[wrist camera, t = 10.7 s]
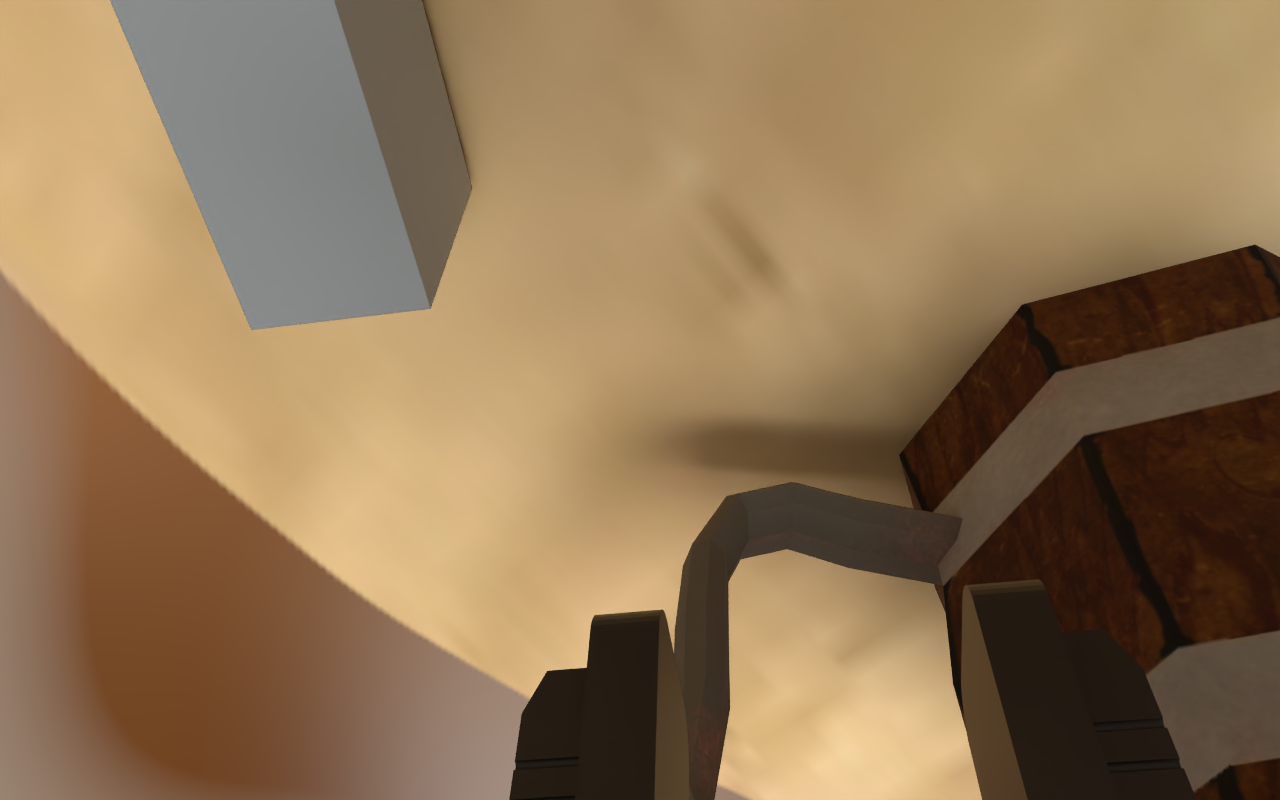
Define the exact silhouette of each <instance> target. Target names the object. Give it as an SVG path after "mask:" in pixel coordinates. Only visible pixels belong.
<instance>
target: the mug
mask: <svg viewBox="0 0 1280 800" xmlns="http://www.w3.org/2000/svg"><path fill="white" fill-rule="evenodd" d="M899 456H900V459H901V463H902V467H903V470H904V474H905V478H906V481H907V485H908V489H909V492H910V496H911V500H912V503H913V507H914V509H912V508H907V507H901V506H896V505H890V504H885V503H879V502H874V501H868V500H863V499H859V498H855V497H850V496H846V495H842V494H837V493H833V492H829V491H825V490H821V489H818V488H814V487H810V486H806V485H802V484H798V483H786V484H782V485H777V486H772V487H767V488H763V489H758V490H753V491H748V492H744V493H739V494H734V495H729V496H726V498H725V499H724V501H723V502H722V503H721V505H720V506H719V508H718V509H717V510H716V512H715V513H714V515H713V516H712V517H711V519H710V520H709V521H708V523H707V524H706V526H705V527H704V528H703V530H702V531H701V533H700V534H699V535H698V537H697V538H696V540H695V541H694V542H693V544H692V546H691V548H690V551H689V553H688V555H687V558H686V560H685V562H684V565H683V571H682V578H681V586H680V594H679V602H678V610H677V617H676V625H675V644H674V657H675V662H676V667H677V672H678V677H679V681H680V686H681V691H682V696H683V701H684V707H685V714H686V723H687V734H688V751H689V800H714V799H715V792H716V787H717V781H718V775H719V769H720V763H721V758H722V752H723V746H724V740H725V734H726V728H727V723H728V717H729V711H730V682H729V618H728V582H729V580H730V578H731V576H732V574H733V572H734V571H735V569H736V567H737V565H738V563H739V561H740V560H741V559H744V558H749V557H753V556H758V555H762V554H767V553H771V552H776V551H780V550H785V549H789V550H793V551H796V552H799V553H802V554H806V555H809V556H812V557H815V558H819V559H822V560H825V561H828V562H832V563H835V564H838V565H841V566H845V567H848V568H852V569H858V570H863V571H869V572H874V573H879V574H885V575H890V576H895V577H901V578H906V579H911V580H917V581H922V582H928V583H933V584H935V588H936V590H937V593H938V595H939V598H940V600H941V602H942V605H943V607H944V610H945V612H946V620H947V629H948V639H949V648H950V658H951V667H952V677H953V685H954V688H955V692H956V696H957V699H958V703H959V706H960V710H961V713H962V717H963V721H964V724H965V718H964V711H963V702H962V690H961V657H962V599H963V589H964V586H965V585H976V584H988V583H1000V582H1012V581H1024V580H1036V579H1039V580H1040V581H1041V582H1042V583H1043V584H1044V586H1045V588H1046V591H1047V593H1048V596H1049V599H1050V602H1051V605H1052V607H1053V610H1054V613H1055V616H1056V619H1057V622H1058V625H1059V628H1060V630H1061V632H1069V631H1082V630H1095V629H1105V631H1106V632H1107V633H1108V634H1109V635H1110V636H1111V637H1112V638H1113V639H1114V640H1115V641H1116V642H1117V643H1118V644H1119V645H1120V646H1121V647H1122V648H1123V649H1124V650H1125V651H1126V652H1127V653H1128V654H1129V655H1130V656H1131V657H1132V658H1133V659H1134V660H1135V661H1136V662H1137V663H1138V664H1139V665H1140V666H1141V667H1142V668H1143V670H1144V672H1145V675H1146V677H1147V680H1148V682H1149V684H1150V687H1151V689H1152V692H1153V694H1154V697H1155V699H1156V701H1157V704H1158V706H1159V709H1160V711H1161V714H1162V716H1163V723H1164V726H1165V728H1168V731H1169V733H1170V736H1171V738H1172V740H1173V743H1174V745H1175V748H1176V750H1177V753H1178V755H1179V758H1180V765H1181V768H1184V770H1185V772H1186V775H1187V777H1188V780H1189V782H1190V784H1191V787H1192V789H1193V792H1194V794H1195V797H1196V799H1197V800H1280V257H1278V256H1276V255H1274V254H1272V253H1270V252H1268V251H1266V250H1264V249H1263V248H1261V247H1259V246H1257V245H1252V246H1248V247H1244V248H1241V249H1237V250H1233V251H1229V252H1225V253H1221V254H1217V255H1213V256H1210V257H1206V258H1202V259H1198V260H1194V261H1190V262H1186V263H1182V264H1178V265H1175V266H1171V267H1167V268H1163V269H1159V270H1155V271H1151V272H1147V273H1144V274H1140V275H1136V276H1132V277H1128V278H1124V279H1120V280H1116V281H1113V282H1109V283H1105V284H1101V285H1097V286H1093V287H1089V288H1085V289H1081V290H1078V291H1074V292H1070V293H1066V294H1062V295H1058V296H1054V297H1050V298H1047V299H1043V300H1039V301H1035V302H1031V303H1027V304H1023V305H1022V306H1021V307H1020V308H1019V309H1018V311H1017V312H1016V313H1015V314H1014V315H1013V317H1012V318H1011V319H1010V320H1009V322H1008V323H1007V324H1006V325H1005V326H1004V328H1003V329H1002V330H1001V331H1000V333H999V334H998V335H997V336H996V337H995V339H994V340H993V341H992V342H991V344H990V345H989V346H988V347H987V348H986V350H985V351H984V352H983V353H982V355H981V356H980V357H979V358H978V359H977V361H976V362H975V363H974V364H973V366H972V367H971V368H970V369H969V370H968V372H967V373H966V374H965V375H964V377H963V378H962V379H961V380H960V381H959V383H958V384H957V385H956V386H955V388H954V389H953V390H952V391H951V392H950V394H949V395H948V396H947V397H946V399H945V400H944V401H943V402H942V403H941V405H940V406H939V407H938V408H937V410H936V411H935V412H934V413H933V414H932V416H931V417H930V418H929V419H928V421H927V422H926V423H925V424H924V425H923V427H922V428H921V429H920V430H919V432H918V433H917V434H916V435H915V436H914V438H913V439H912V440H911V441H910V443H909V444H908V445H907V446H906V447H905V449H904V450H903V451H902V452H901V454H900V455H899ZM965 728H966V725H965ZM966 731H967V730H966Z"/></svg>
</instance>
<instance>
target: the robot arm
mask: <svg viewBox="0 0 1280 800" xmlns="http://www.w3.org/2000/svg"><path fill="white" fill-rule="evenodd" d="M961 690H962V702H963V711H964V718H965V725H966V730H967V736H968V741H969V745H970V750H971V754H972V758H973V762H974V766H975V771H976V775H977V779H978V783H979V788H980V792H981V796H982V800H1197V799H1196V797H1195V794H1194V792H1193V789H1192V787H1191V784H1190V782H1189V780H1188V777H1187V775H1186V772H1185V770H1184V768H1181V765H1180V758H1179V755H1178V753H1177V750H1176V748H1175V745H1174V743H1173V740H1172V738H1171V736H1170V733H1169V731H1168V728H1165V726H1164V723H1163V716H1162V714H1161V711H1160V709H1159V706H1158V704H1157V701H1156V699H1155V697H1154V694H1153V692H1152V689H1151V687H1150V684H1149V682H1148V680H1147V677H1146V675H1145V672H1144V670H1143V668H1142V667H1141V666H1140V665H1139V664H1138V663H1137V662H1136V661H1135V660H1134V659H1133V658H1132V657H1131V656H1130V655H1129V654H1128V653H1127V652H1126V651H1125V650H1124V649H1123V648H1122V647H1121V646H1120V645H1119V644H1118V643H1117V642H1116V641H1115V640H1114V639H1113V638H1112V637H1111V636H1110V635H1109V634H1108V633H1107V632H1106V631H1105V629H1095V630H1082V631H1069V632H1061V630H1060V628H1059V625H1058V622H1057V619H1056V616H1055V613H1054V610H1053V607H1052V605H1051V602H1050V599H1049V596H1048V593H1047V591H1046V588H1045V586H1044V584H1043V583H1042V582H1041V581H1040V580H1039V579H1036V580H1024V581H1012V582H1000V583H988V584H976V585H965V586H964V589H963V599H962V657H961ZM515 763H516V769H515V770H514V772H513V778H512V786H511V792H510V800H689V751H688V734H687V723H686V714H685V707H684V701H683V696H682V691H681V686H680V681H679V677H678V672H677V667H676V662H675V657H674V652H673V648H672V643H671V638H670V633H669V628H668V624H667V619H666V615H665V613H664V611H663V610H653V611H641V612H628V613H616V614H604V615H595V616H594V617H593V620H592V623H591V630H590V640H589V651H588V662H587V668H579V669H566V670H553V671H547V672H546V674H545V676H544V677H543V679H542V681H541V682H540V684H539V686H538V687H537V689H536V691H535V692H534V694H533V696H532V697H531V699H530V701H529V702H528V704H527V706H526V707H525V709H524V711H523V713H522V716H521V724H520V730H519V737H518V745H517V751H516V758H515Z"/></svg>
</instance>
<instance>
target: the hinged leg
mask: <svg viewBox="0 0 1280 800" xmlns="http://www.w3.org/2000/svg"><path fill="white" fill-rule="evenodd" d="M110 1H111V4H112V6H113V8H114V11H115V13H116V15H117V18H118V20H119V22H120V25H121V27H122V29H123V32H124V34H125V36H126V39H127V41H128V43H129V46H130V48H131V50H132V53H133V55H134V57H135V60H136V62H137V64H138V67H139V69H140V71H141V74H142V76H143V78H144V81H145V83H146V85H147V88H148V90H149V92H150V95H151V97H152V99H153V102H154V104H155V106H156V109H157V111H158V113H159V116H160V118H161V120H162V123H163V125H164V127H165V130H166V132H167V134H168V137H169V139H170V141H171V144H172V146H173V148H174V151H175V153H176V155H177V158H178V160H179V162H180V165H181V167H182V169H183V172H184V174H185V176H186V179H187V181H188V183H189V186H190V188H191V190H192V193H193V195H194V197H195V200H196V202H197V204H198V207H199V209H200V211H201V214H202V216H203V218H204V221H205V223H206V225H207V228H208V230H209V232H210V235H211V237H212V239H213V242H214V244H215V246H216V249H217V251H218V253H219V256H220V258H221V260H222V263H223V265H224V267H225V270H226V272H227V274H228V277H229V279H230V281H231V284H232V286H233V288H234V291H235V293H236V295H237V298H238V300H239V302H240V305H241V307H242V309H243V312H244V314H245V316H246V319H247V321H248V323H249V326H250V328H251V330H254V329H263V328H271V327H280V326H288V325H297V324H305V323H313V322H322V321H330V320H339V319H347V318H356V317H364V316H373V315H381V314H390V313H398V312H406V311H415V310H423V309H431V306H432V303H433V300H434V297H435V294H436V291H437V288H438V286H439V283H440V280H441V277H442V274H443V271H444V268H445V265H446V262H447V259H448V257H449V254H450V251H451V248H452V245H453V242H454V239H455V236H456V233H457V230H458V227H459V225H460V222H461V219H462V216H463V213H464V210H465V207H466V204H467V201H468V198H469V195H470V193H471V190H472V186H471V182H470V178H469V174H468V171H467V167H466V163H465V159H464V156H463V152H462V148H461V145H460V141H459V137H458V133H457V130H456V126H455V122H454V118H453V115H452V111H451V107H450V103H449V100H448V96H447V92H446V88H445V85H444V81H443V77H442V74H441V70H440V66H439V62H438V59H437V55H436V51H435V47H434V44H433V40H432V36H431V32H430V29H429V25H428V21H427V18H426V14H425V10H424V6H423V3H422V0H110Z"/></svg>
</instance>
